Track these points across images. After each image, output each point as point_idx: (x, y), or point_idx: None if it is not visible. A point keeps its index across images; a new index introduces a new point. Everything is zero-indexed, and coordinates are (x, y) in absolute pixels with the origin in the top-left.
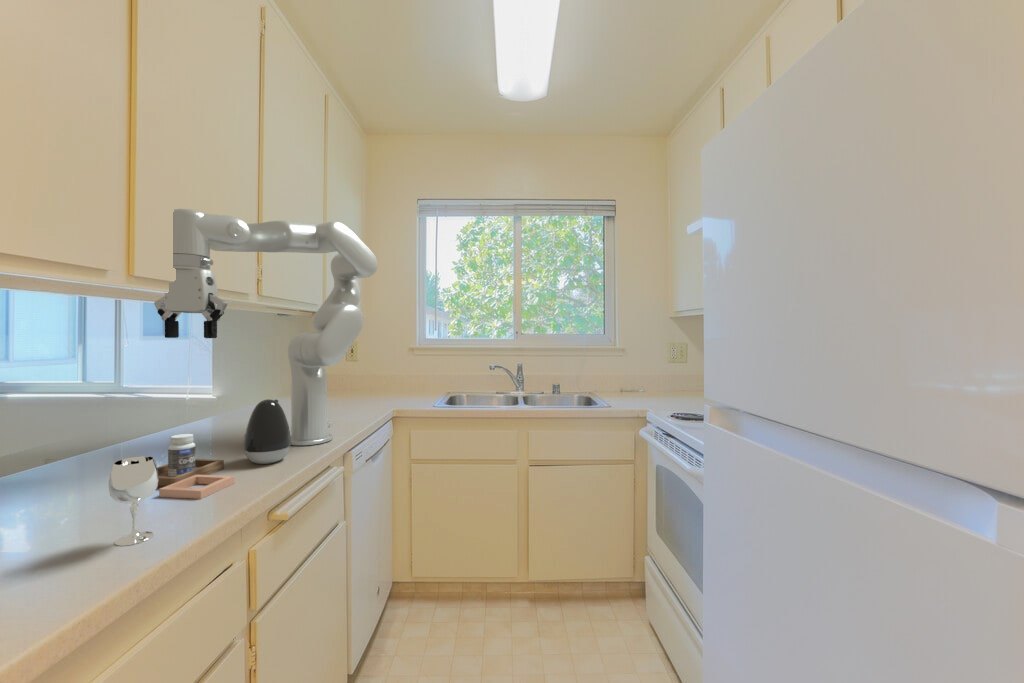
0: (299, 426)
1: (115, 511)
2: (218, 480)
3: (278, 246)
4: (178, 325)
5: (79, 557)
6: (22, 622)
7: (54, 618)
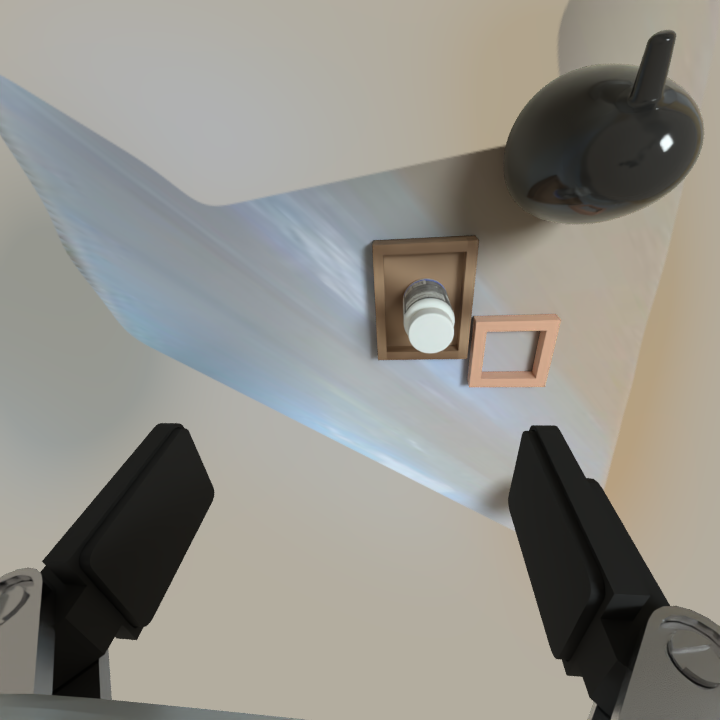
0: None
1: (450, 422)
2: (544, 344)
3: None
4: (119, 515)
5: None
6: None
7: None
